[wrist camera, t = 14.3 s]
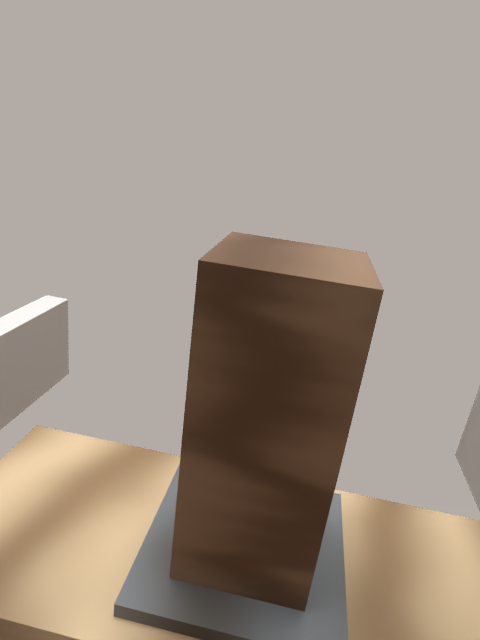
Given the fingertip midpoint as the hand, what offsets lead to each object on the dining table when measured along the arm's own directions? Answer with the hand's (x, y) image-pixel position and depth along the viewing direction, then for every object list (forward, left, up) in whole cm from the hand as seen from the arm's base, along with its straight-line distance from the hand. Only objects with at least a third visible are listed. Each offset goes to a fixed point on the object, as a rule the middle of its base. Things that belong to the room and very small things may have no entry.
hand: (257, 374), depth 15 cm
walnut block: (0, -2, -8) cm, 9 cm away
